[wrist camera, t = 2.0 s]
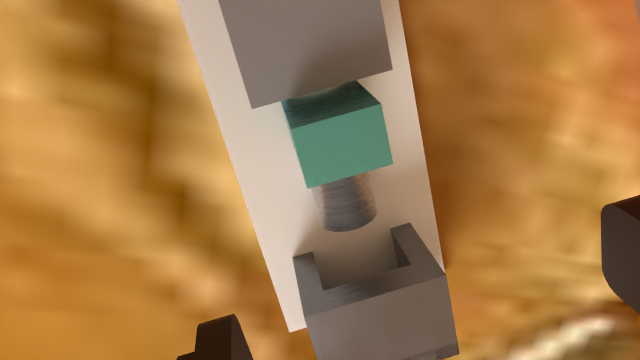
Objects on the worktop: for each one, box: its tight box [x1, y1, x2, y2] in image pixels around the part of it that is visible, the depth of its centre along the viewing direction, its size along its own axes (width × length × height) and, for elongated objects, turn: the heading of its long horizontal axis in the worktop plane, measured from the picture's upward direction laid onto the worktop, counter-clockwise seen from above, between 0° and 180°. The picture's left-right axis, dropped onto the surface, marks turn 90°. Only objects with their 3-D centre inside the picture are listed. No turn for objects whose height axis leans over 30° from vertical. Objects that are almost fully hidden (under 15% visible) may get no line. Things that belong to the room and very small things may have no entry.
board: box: [177, 0, 445, 332], centre depth 25 cm, size 22×10×6 cm, turn 14°
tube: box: [280, 80, 393, 232], centre depth 22 cm, size 14×4×7 cm, turn 14°
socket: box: [292, 223, 459, 360], centre depth 28 cm, size 5×7×6 cm
